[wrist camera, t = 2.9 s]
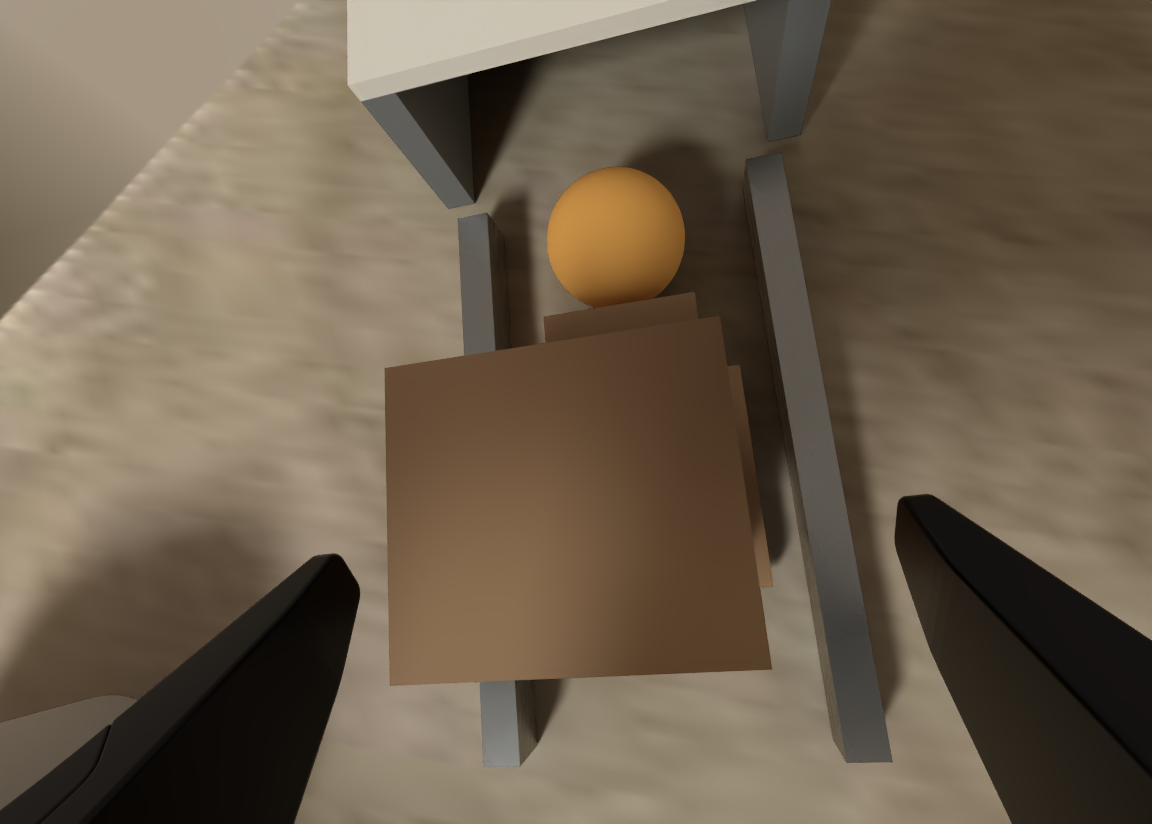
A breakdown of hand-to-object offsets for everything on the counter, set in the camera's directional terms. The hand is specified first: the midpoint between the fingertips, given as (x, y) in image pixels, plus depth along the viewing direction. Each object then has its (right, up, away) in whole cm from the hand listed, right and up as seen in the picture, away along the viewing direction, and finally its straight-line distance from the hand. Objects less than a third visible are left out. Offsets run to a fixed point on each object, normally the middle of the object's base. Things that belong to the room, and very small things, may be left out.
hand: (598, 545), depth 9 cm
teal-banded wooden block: (+2, +1, +8) cm, 8 cm away
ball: (+1, +7, +8) cm, 11 cm away
